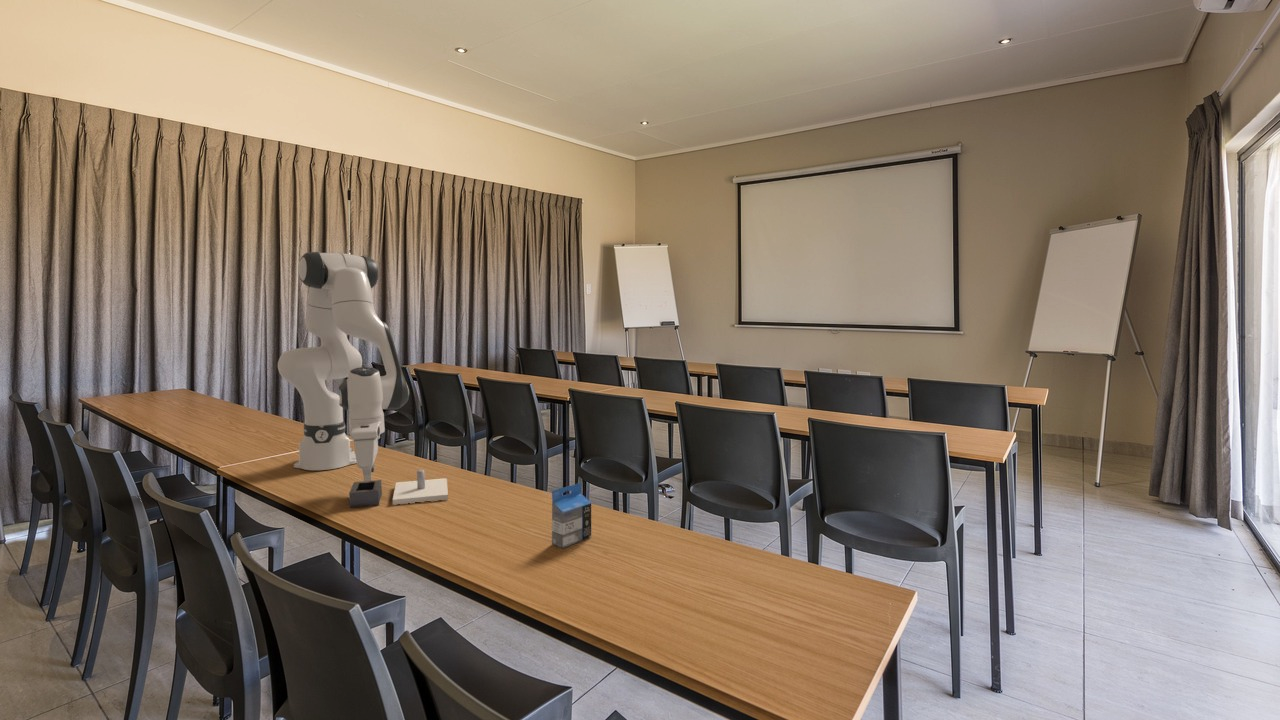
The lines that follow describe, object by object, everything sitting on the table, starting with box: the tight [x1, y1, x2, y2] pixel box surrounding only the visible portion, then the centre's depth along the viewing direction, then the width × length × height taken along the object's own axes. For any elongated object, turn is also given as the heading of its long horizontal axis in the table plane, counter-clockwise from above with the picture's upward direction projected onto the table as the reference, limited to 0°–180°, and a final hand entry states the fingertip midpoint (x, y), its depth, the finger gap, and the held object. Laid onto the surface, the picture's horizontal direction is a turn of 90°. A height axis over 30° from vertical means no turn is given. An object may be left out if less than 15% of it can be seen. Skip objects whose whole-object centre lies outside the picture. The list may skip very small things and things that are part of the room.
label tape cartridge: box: [551, 482, 592, 549], centre depth 137 cm, size 9×4×12 cm, turn 138°
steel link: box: [348, 479, 383, 509], centre depth 163 cm, size 10×7×4 cm
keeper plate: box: [392, 469, 449, 506], centre depth 170 cm, size 16×14×6 cm
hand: (369, 476), depth 167 cm, fingers open, 8 cm apart
